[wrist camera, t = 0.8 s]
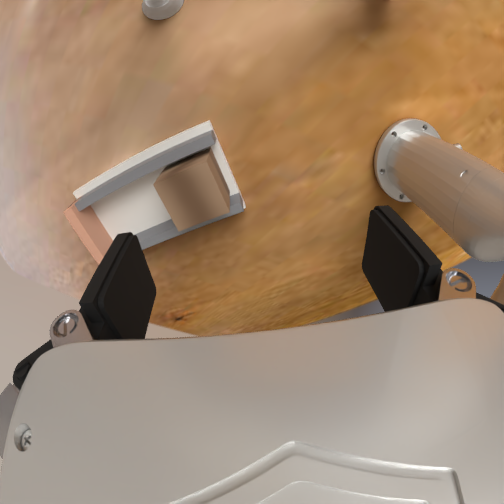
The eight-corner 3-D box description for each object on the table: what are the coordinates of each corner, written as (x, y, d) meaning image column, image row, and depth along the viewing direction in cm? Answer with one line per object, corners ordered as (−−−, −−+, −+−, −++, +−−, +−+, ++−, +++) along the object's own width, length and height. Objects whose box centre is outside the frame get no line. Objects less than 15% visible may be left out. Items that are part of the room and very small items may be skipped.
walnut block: (210, 147, 30) (206, 161, 25) (229, 190, 34) (229, 212, 29) (165, 167, 31) (152, 184, 26) (186, 207, 34) (178, 231, 29)
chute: (209, 120, 29) (206, 126, 25) (245, 204, 36) (247, 222, 32) (75, 190, 32) (59, 205, 28) (117, 255, 39) (106, 275, 35)
